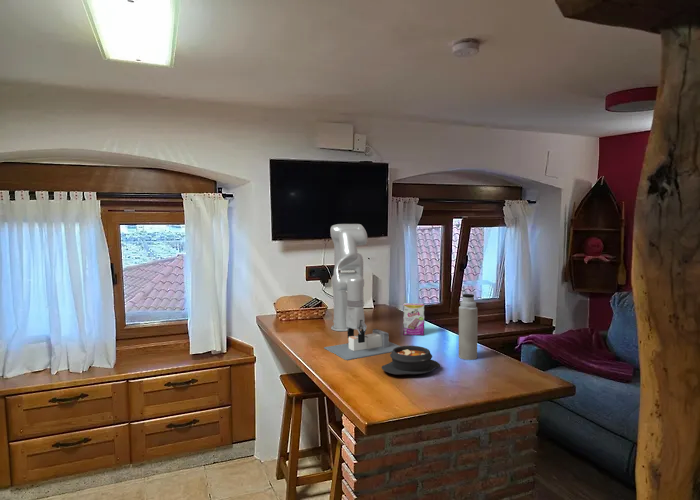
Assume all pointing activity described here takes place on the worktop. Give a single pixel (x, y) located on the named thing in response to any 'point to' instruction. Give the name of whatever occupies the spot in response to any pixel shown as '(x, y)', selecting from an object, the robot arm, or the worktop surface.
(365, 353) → the grey board with blocks
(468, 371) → the worktop surface
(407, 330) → the candy bar box
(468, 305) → the thermos bottle
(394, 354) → the casserole
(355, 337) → the white and peach box
